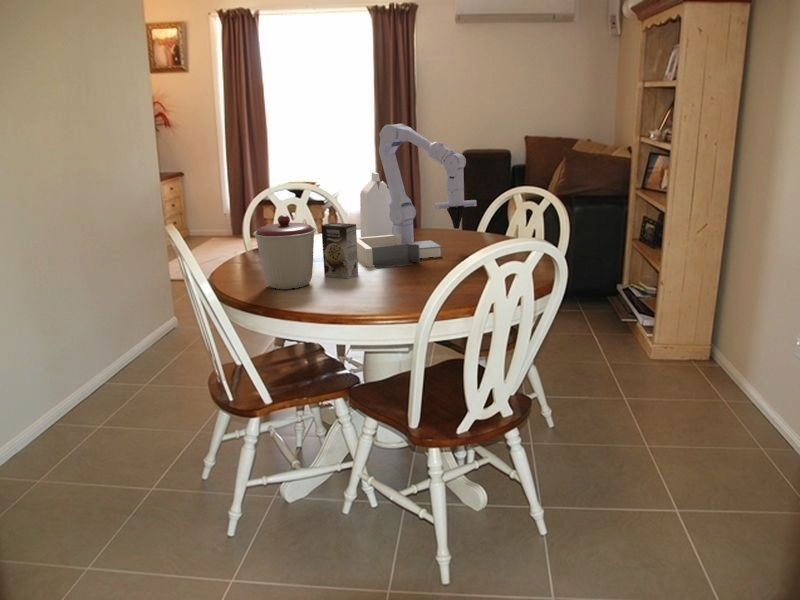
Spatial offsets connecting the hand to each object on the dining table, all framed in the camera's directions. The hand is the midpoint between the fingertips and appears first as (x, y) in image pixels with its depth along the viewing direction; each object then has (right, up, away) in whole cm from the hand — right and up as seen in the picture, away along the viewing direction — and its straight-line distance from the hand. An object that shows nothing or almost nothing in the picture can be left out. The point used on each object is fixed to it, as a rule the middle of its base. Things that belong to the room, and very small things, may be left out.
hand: (456, 228), depth 248 cm
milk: (-28, -2, +29) cm, 40 cm away
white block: (-11, -10, -1) cm, 15 cm away
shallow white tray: (-26, -11, -5) cm, 28 cm away
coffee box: (-38, -18, -27) cm, 50 cm away
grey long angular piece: (-21, -13, -15) cm, 29 cm away
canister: (-53, -21, -37) cm, 67 cm away
